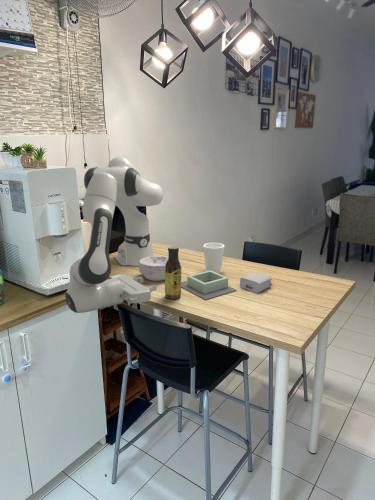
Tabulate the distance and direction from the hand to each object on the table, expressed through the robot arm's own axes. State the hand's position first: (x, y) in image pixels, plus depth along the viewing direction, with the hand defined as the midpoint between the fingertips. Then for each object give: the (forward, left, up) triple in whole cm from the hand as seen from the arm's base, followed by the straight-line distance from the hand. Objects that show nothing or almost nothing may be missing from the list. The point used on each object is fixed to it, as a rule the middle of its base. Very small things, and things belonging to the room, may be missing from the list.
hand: (148, 283), depth 141 cm
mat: (0, +27, -8) cm, 28 cm away
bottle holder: (0, +28, -8) cm, 29 cm away
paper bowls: (-22, +17, -8) cm, 29 cm away
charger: (+11, +46, -8) cm, 49 cm away
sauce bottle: (0, +11, -8) cm, 13 cm away
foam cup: (-12, +41, -8) cm, 43 cm away
